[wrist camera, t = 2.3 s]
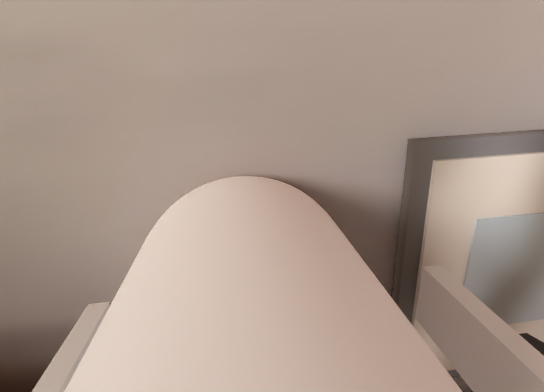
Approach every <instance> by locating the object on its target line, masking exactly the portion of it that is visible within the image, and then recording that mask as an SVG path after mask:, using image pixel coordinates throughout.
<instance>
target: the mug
mask: <svg viewBox="0 0 544 392" xmlns="http://www.w3.org/2000/svg"><path fill="white" fill-rule="evenodd" d="M64 392H462V390H461V389H460V388H459V386H458V385H457V384H456V382H455V381H454V380H453V378H452V377H451V376H450V374H449V373H448V372H447V371H446V369H445V368H444V367H443V365H442V364H441V363H440V361H439V360H438V359H437V357H436V356H435V355H434V353H433V352H432V351H431V349H430V348H429V347H428V345H427V344H426V343H425V341H424V340H423V339H422V337H421V336H420V335H419V333H418V332H417V331H416V329H415V328H414V327H413V325H412V324H411V323H410V321H409V320H408V319H407V317H406V316H405V315H404V314H403V312H402V311H401V310H400V308H399V307H398V306H397V304H396V303H395V302H394V300H393V299H392V298H391V296H390V295H389V294H388V292H387V291H386V290H385V288H384V287H383V286H382V284H381V283H380V282H379V280H378V279H377V278H376V276H375V275H374V274H373V272H372V271H371V270H370V268H369V267H368V266H367V264H366V263H365V262H364V261H363V259H362V258H361V257H360V255H359V254H358V253H357V251H356V250H355V249H354V247H353V246H352V245H351V243H350V242H349V241H348V239H347V238H346V237H345V235H344V234H343V233H342V231H341V230H340V229H339V227H338V226H337V225H336V224H335V222H334V221H333V220H332V218H331V217H330V216H329V215H328V213H327V212H326V211H325V210H324V209H323V208H322V207H321V206H320V205H319V204H318V203H317V202H315V201H314V200H313V199H312V198H311V197H309V196H308V195H306V194H305V193H304V192H302V191H300V190H298V189H297V188H295V187H293V186H291V185H289V184H286V183H283V182H281V181H278V180H274V179H270V178H265V177H256V176H235V177H229V178H223V179H219V180H216V181H212V182H209V183H206V184H204V185H202V186H200V187H197V188H195V189H194V190H192V191H190V192H189V193H187V194H185V195H184V196H182V197H181V198H180V199H179V200H178V201H176V202H175V203H174V204H173V205H171V206H170V207H169V208H168V209H167V211H166V212H165V213H164V214H163V215H162V216H161V217H160V219H159V220H158V221H157V223H156V224H155V226H154V227H153V228H152V230H151V231H150V233H149V234H148V236H147V238H146V240H145V242H144V243H143V245H142V247H141V249H140V251H139V253H138V255H137V257H136V258H135V260H134V262H133V264H132V266H131V268H130V270H129V271H128V273H127V275H126V277H125V279H124V281H123V283H122V285H121V286H120V288H119V290H118V292H117V294H116V296H115V298H114V300H113V301H112V303H111V305H110V307H109V309H108V311H107V313H106V314H105V316H104V318H103V320H102V322H101V324H100V326H99V328H98V329H97V331H96V333H95V335H94V337H93V339H92V341H91V343H90V344H89V346H88V348H87V350H86V352H85V354H84V356H83V357H82V359H81V361H80V363H79V365H78V367H77V369H76V371H75V372H74V374H73V376H72V378H71V380H70V382H69V384H68V386H67V387H66V389H65V391H64Z"/></svg>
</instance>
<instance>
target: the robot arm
mask: <svg viewBox="0 0 544 392" xmlns="http://www.w3.org/2000/svg"><path fill="white" fill-rule="evenodd" d="M109 307H110V304H109V302H102V303H93V304H88V305H87V307H86V308H85V310H84V311H83V313H82V315H81V316H80V318H79V319H78V321H77V322H76V324H75V325H74V327H73V329H72V330H71V332H70V333H69V335H68V336H67V338H66V339H65V341H64V342H63V344H62V346H61V347H60V349H59V350H58V352H57V353H56V355H55V356H54V358H53V359H52V361H51V363H50V364H49V366H48V367H47V369H46V370H45V372H44V373H43V375H42V377H41V378H40V380H39V381H38V383H37V384H36V386H35V387H34V389H33V390H32V392H64V391H65V389H66V387H67V386H68V384H69V382H70V380H71V378H72V376H73V374H74V372H75V371H76V369H77V367H78V365H79V363H80V361H81V359H82V357H83V356H84V354H85V352H86V350H87V348H88V346H89V344H90V343H91V341H92V339H93V337H94V335H95V333H96V331H97V329H98V328H99V326H100V324H101V322H102V320H103V318H104V316H105V314H106V313H107V311H108V309H109ZM416 320H417V321H418V322H419V323H420V325H421V326H422V327H423V329H424V330H425V331H426V332H427V334H428V335H429V336H430V337H431V339H432V340H433V341H434V343H435V344H436V345H437V346H438V348H439V349H440V350H441V351H442V353H443V354H444V355H445V357H446V358H447V359H448V360H449V362H450V363H451V364H452V366H453V367H454V368H455V369H456V371H457V372H458V373H459V374H460V376H461V377H462V378H463V380H464V381H465V382H466V383H467V385H468V386H469V387H470V388H471V390H472V391H473V392H544V342H542V341H540V340H538V339H537V338H535V337H533V336H531V335H529V334H528V333H521V334H518V333H517V332H516V331H515V330H514V329H512V328H511V327H510V326H509V325H508V324H507V323H505V322H504V321H503V320H502V319H501V318H500V317H499V316H497V315H496V314H495V313H494V312H493V311H492V310H491V309H489V308H488V307H487V306H486V305H485V304H484V303H483V302H481V301H480V300H479V299H478V298H477V297H476V296H475V295H473V294H472V293H471V292H470V291H469V290H468V289H467V288H465V287H464V286H463V285H462V284H461V283H460V282H459V281H457V280H456V279H455V278H454V277H453V276H452V275H450V274H449V273H448V272H447V271H446V270H445V269H444V268H442V267H441V266H440V265H435V266H426V267H423V269H422V276H421V283H420V291H419V298H418V305H417V313H416Z"/></svg>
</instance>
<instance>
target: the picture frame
mask: <svg viewBox="0 0 544 392" xmlns="http://www.w3.org/2000/svg"><path fill="white" fill-rule="evenodd" d="M435 265H440V266H441V267H442V268H444V269H445V270H446V271H447V272H448V273H449V274H450V275H452V276H453V277H454V278H455V279H456V280H457V281H459V282H460V283H461V284H462V285H463V286H464V287H465V288H467V289H468V290H469V291H470V292H471V293H472V294H473V295H475V296H476V297H477V298H478V299H479V300H480V301H481V302H483V303H484V304H485V305H486V306H487V307H488V308H489V309H491V310H492V311H493V312H494V313H495V314H496V315H497V316H499V317H500V318H501V319H502V320H503V321H504V322H505V323H507V324H508V325H509V326H510V327H511V328H512V329H514V330H515V331H516V332H517V333H518V334H521V333H528V334H529V335H531V336H533V337H535V338H537V339H538V340H540V341H542V342H544V130H531V131H517V132H503V133H488V134H474V135H459V136H445V137H430V138H416V139H408V147H407V157H406V166H405V176H404V186H403V195H402V205H401V215H400V224H399V234H398V244H397V253H396V263H395V273H394V282H393V292H392V299H393V300H394V302H395V303H396V304H397V306H398V307H399V308H400V310H401V311H402V312H403V314H404V315H405V316H406V317H407V319H408V320H409V321H410V323H411V324H412V325H413V327H414V328H415V329H416V331H417V332H418V333H419V335H420V336H421V337H422V339H423V340H424V341H425V343H426V344H427V345H428V347H429V348H430V349H431V351H432V352H433V353H434V355H435V356H436V357H437V359H438V360H439V361H440V363H441V364H442V365H443V367H444V368H445V369H446V371H447V372H448V373H449V374H450V376H451V377H457V376H460V374H459V373H458V372H457V371H456V369H455V368H454V367H453V366H452V364H451V363H450V362H449V360H448V359H447V358H446V357H445V355H444V354H443V353H442V351H441V350H440V349H439V348H438V346H437V345H436V344H435V343H434V341H433V340H432V339H431V337H430V336H429V335H428V334H427V332H426V331H425V330H424V329H423V327H422V326H421V325H420V323H419V322H418V321H417V320H416V313H417V305H418V298H419V291H420V283H421V276H422V269H423V267H426V266H435Z"/></svg>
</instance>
